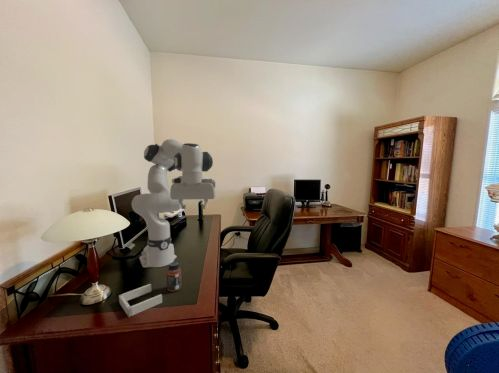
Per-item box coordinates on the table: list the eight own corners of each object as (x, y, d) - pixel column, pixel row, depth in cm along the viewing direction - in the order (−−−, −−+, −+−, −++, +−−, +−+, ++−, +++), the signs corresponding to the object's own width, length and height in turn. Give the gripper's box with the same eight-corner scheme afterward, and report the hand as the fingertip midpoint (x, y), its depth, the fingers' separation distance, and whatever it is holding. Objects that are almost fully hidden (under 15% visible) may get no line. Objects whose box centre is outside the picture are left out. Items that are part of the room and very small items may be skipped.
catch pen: (119, 302, 86) (118, 295, 86) (150, 290, 94) (150, 283, 94) (128, 317, 78) (128, 309, 77) (162, 302, 86) (161, 295, 86)
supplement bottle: (181, 291, 94) (180, 265, 93) (166, 293, 92) (165, 267, 91) (181, 284, 100) (181, 260, 99) (167, 286, 98) (166, 261, 97)
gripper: (216, 178, 103) (217, 207, 104) (173, 178, 103) (174, 207, 105) (214, 179, 97) (214, 210, 98) (168, 179, 97) (169, 210, 98)
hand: (193, 208), depth 101 cm, fingers open, 8 cm apart
